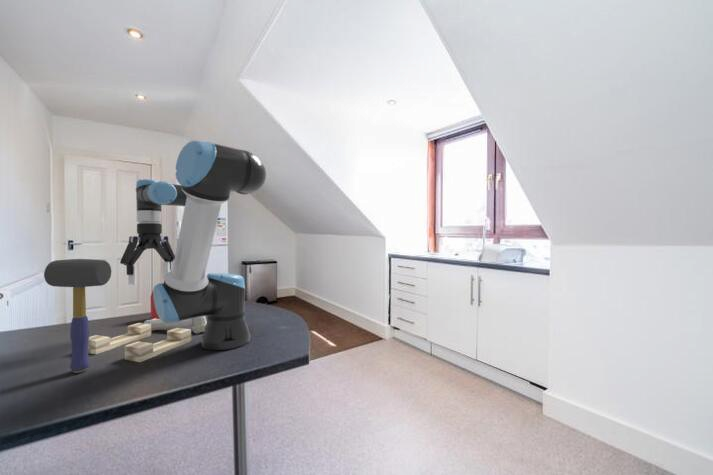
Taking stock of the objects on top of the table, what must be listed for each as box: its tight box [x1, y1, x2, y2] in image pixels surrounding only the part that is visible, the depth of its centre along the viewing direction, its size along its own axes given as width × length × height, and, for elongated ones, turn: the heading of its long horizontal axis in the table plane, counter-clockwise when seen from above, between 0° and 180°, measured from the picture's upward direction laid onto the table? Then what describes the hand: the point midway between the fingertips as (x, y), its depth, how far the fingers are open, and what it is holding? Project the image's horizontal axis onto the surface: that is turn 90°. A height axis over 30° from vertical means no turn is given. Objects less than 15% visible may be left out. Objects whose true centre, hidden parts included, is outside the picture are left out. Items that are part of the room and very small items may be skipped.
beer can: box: [150, 290, 160, 320], centre depth 132 cm, size 7×7×12 cm
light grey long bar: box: [142, 316, 207, 334], centre depth 117 cm, size 5×7×25 cm
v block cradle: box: [88, 322, 192, 363], centre depth 101 cm, size 24×18×4 cm
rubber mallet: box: [43, 258, 112, 374], centre depth 83 cm, size 12×8×30 cm, turn 98°
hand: (150, 281), depth 113 cm, fingers open, 13 cm apart
